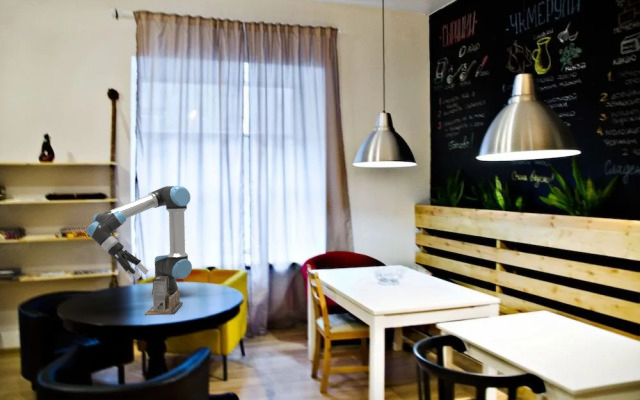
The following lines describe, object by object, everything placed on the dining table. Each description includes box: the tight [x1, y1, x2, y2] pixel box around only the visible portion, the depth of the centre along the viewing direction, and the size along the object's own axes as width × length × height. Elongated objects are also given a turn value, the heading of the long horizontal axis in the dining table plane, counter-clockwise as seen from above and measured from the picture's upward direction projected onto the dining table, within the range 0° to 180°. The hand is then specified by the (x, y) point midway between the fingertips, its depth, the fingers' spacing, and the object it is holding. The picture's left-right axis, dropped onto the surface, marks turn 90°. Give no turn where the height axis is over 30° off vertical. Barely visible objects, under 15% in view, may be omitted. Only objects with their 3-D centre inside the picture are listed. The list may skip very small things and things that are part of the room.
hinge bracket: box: [144, 289, 183, 316], centre depth 244 cm, size 20×15×8 cm
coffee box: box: [152, 276, 170, 311], centre depth 244 cm, size 9×6×16 cm
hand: (143, 275), depth 243 cm, fingers open, 13 cm apart
